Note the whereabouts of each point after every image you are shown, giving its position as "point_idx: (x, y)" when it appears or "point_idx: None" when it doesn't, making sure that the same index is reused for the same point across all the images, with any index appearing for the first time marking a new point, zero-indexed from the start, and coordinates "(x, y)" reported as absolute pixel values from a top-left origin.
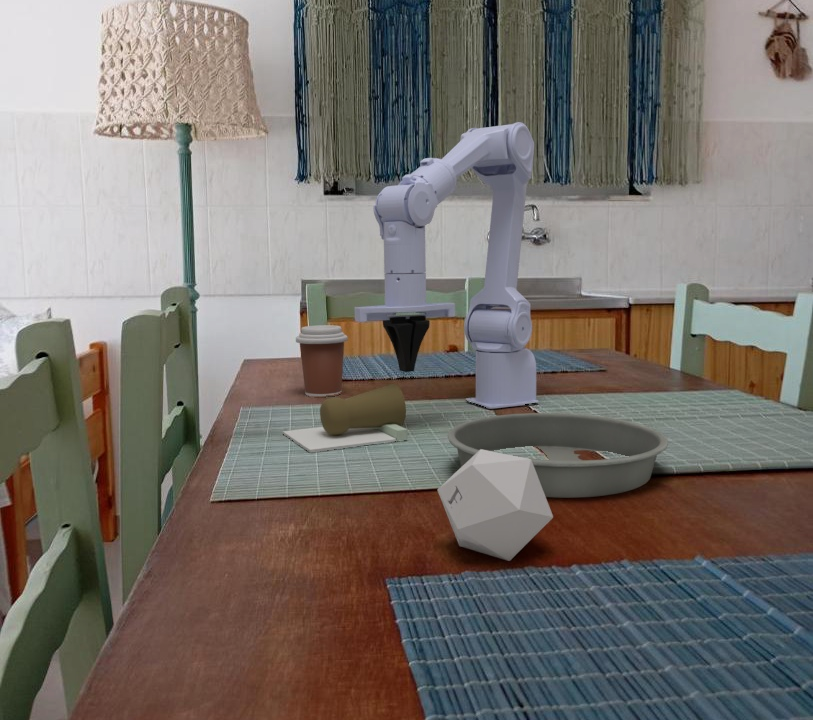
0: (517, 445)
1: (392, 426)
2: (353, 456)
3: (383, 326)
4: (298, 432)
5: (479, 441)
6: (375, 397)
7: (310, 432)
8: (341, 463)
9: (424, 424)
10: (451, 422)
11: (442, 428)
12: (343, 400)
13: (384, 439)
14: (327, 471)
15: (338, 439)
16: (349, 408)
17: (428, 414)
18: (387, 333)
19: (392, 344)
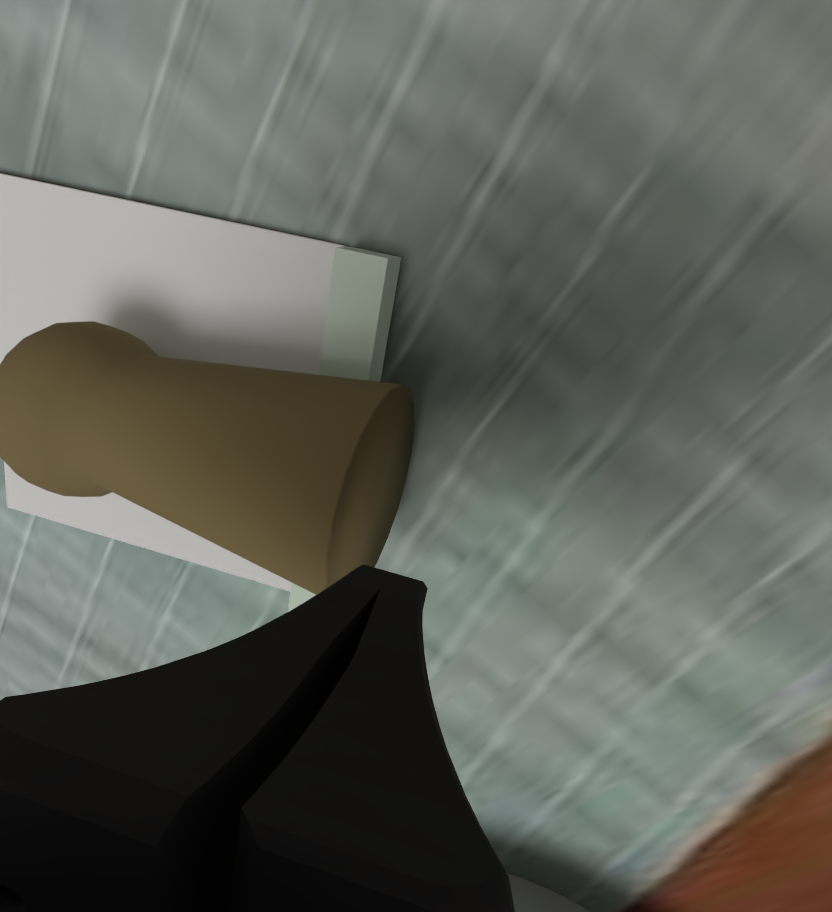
0: (556, 901)
1: None
2: (112, 620)
3: (5, 702)
4: (36, 239)
5: None
6: (206, 537)
7: (76, 276)
8: (60, 649)
9: (585, 437)
10: (715, 494)
11: (586, 551)
12: (59, 472)
13: (259, 570)
14: (9, 677)
15: None
16: (103, 488)
17: (798, 251)
18: (113, 683)
19: (229, 641)
